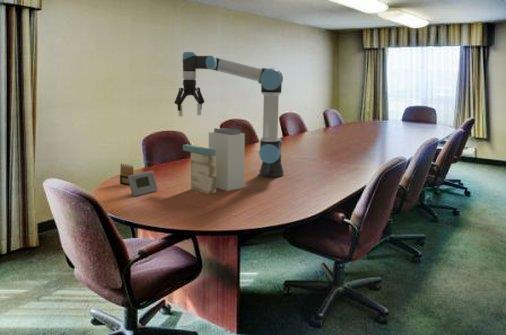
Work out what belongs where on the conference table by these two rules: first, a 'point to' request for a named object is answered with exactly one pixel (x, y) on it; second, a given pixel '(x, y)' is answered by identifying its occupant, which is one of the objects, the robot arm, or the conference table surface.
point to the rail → (199, 150)
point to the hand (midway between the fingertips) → (190, 115)
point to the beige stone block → (203, 173)
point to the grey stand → (228, 157)
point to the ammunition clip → (125, 173)
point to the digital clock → (142, 183)
